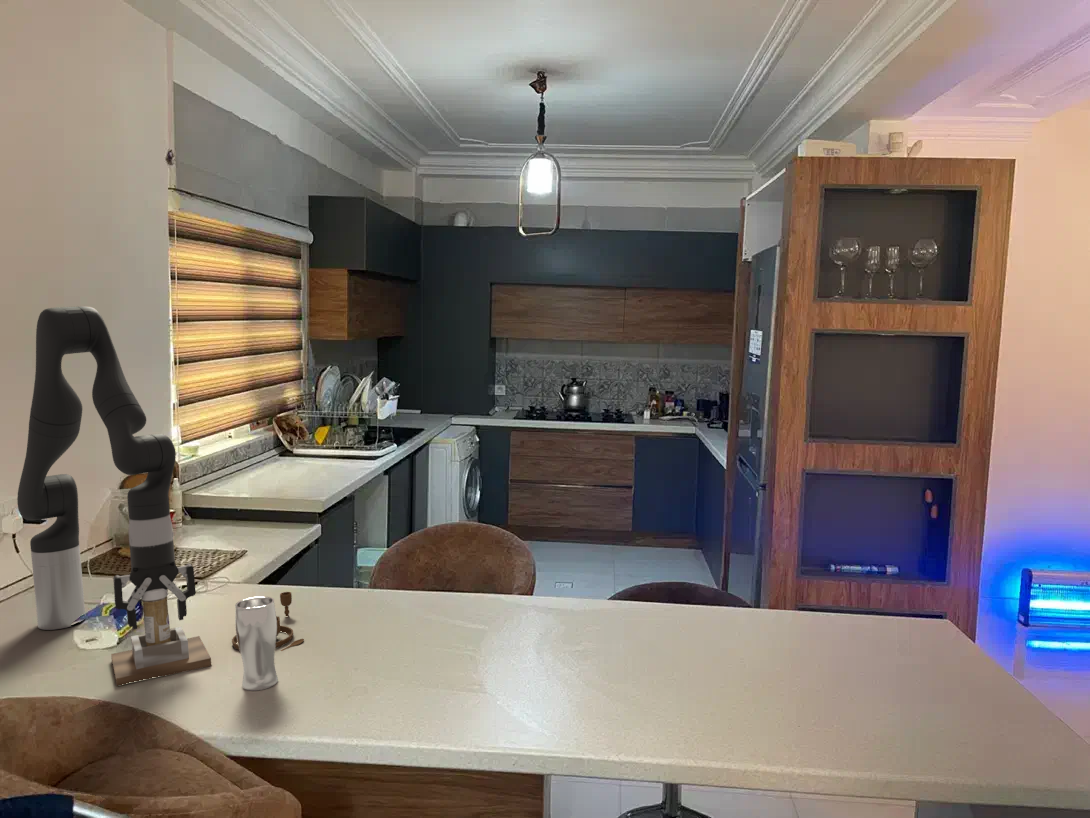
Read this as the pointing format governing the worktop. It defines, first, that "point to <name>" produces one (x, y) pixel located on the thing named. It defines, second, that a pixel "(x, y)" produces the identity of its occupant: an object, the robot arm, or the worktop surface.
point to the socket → (159, 657)
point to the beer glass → (257, 641)
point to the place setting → (285, 601)
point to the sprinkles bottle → (156, 617)
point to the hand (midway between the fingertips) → (157, 623)
